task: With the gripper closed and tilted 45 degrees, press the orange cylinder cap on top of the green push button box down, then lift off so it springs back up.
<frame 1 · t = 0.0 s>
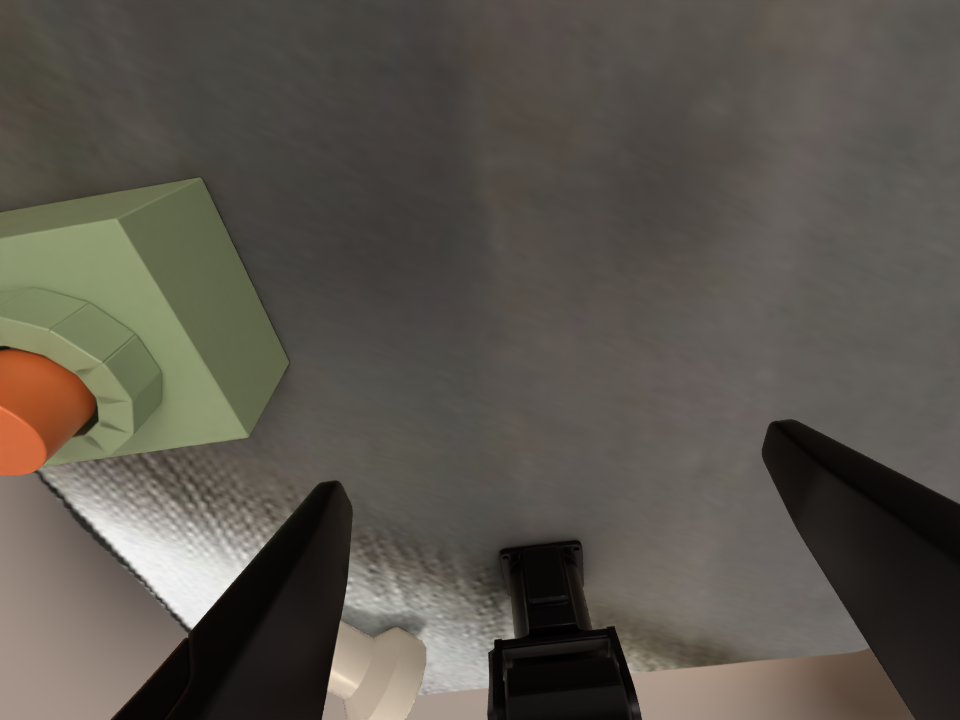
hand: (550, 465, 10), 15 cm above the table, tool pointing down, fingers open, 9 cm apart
orange cylinder cap: (12, 412, 15), point 9 cm above the table, slide at 0.1 cm
spotlight: (364, 621, 42), on the table
green push button box: (156, 296, 23), on the table
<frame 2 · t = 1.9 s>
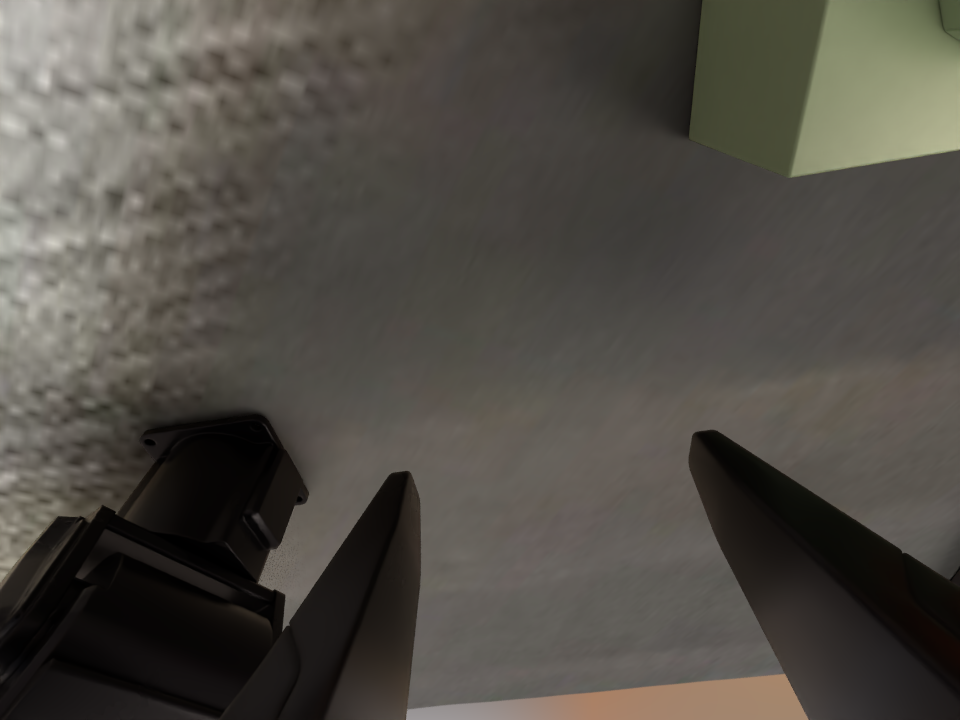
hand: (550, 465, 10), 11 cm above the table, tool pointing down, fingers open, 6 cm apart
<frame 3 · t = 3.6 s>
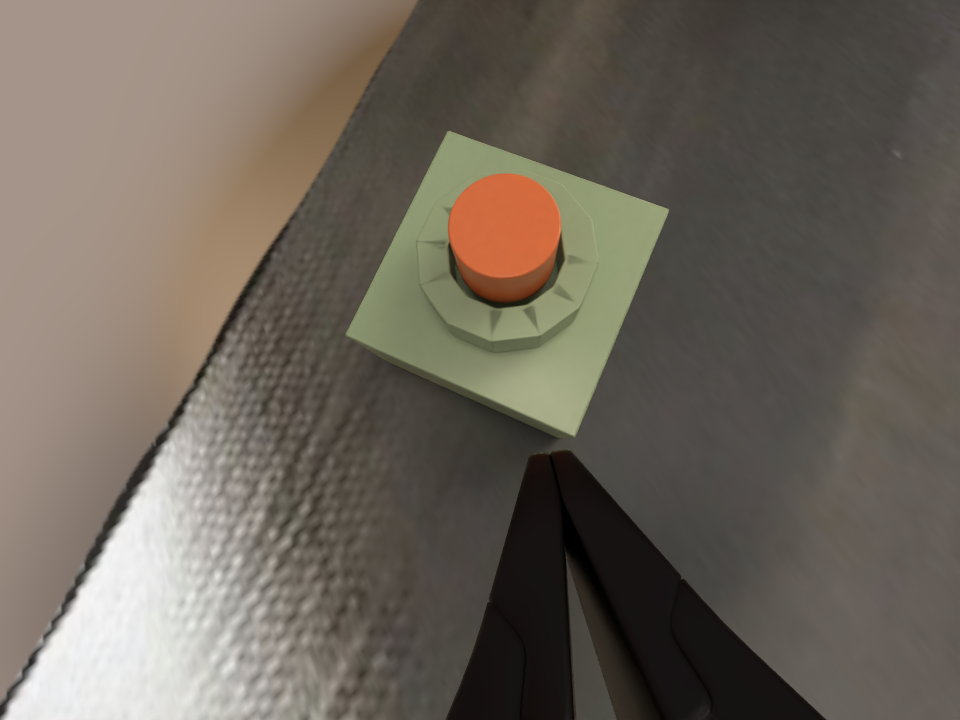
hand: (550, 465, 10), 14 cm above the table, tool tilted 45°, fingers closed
orange cylinder cap: (504, 241, 15), point 9 cm above the table, slide at 0.1 cm
green push button box: (508, 313, 24), on the table
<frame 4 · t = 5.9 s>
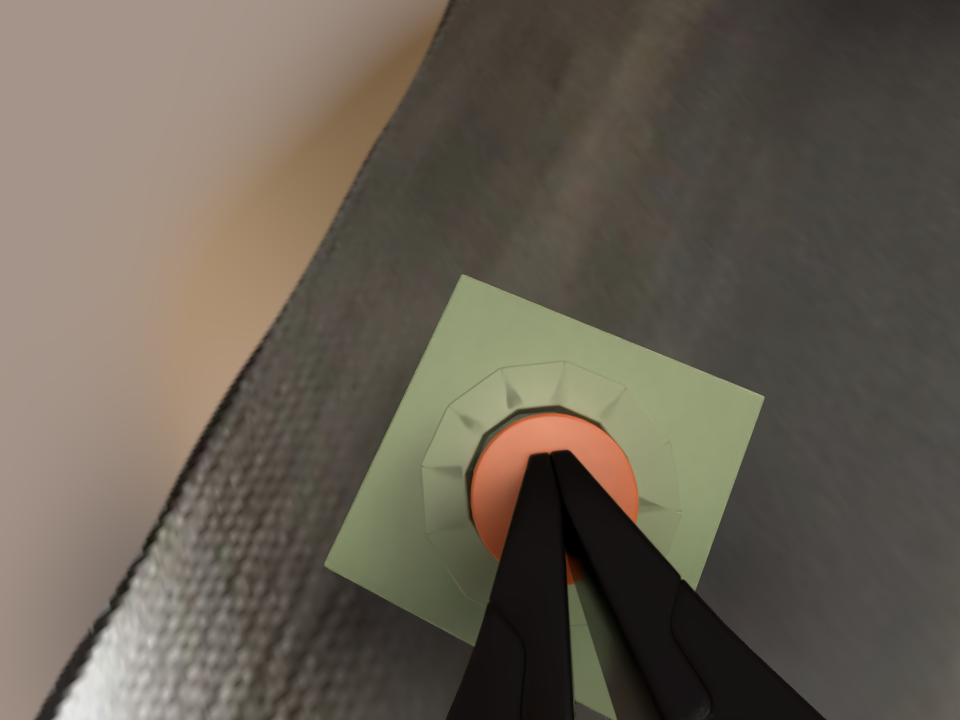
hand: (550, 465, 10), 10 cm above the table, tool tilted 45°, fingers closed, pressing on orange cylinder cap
orange cylinder cap: (549, 490, 11), point 9 cm above the table, slide at -0.2 cm, touching gripper
green push button box: (534, 469, 19), on the table
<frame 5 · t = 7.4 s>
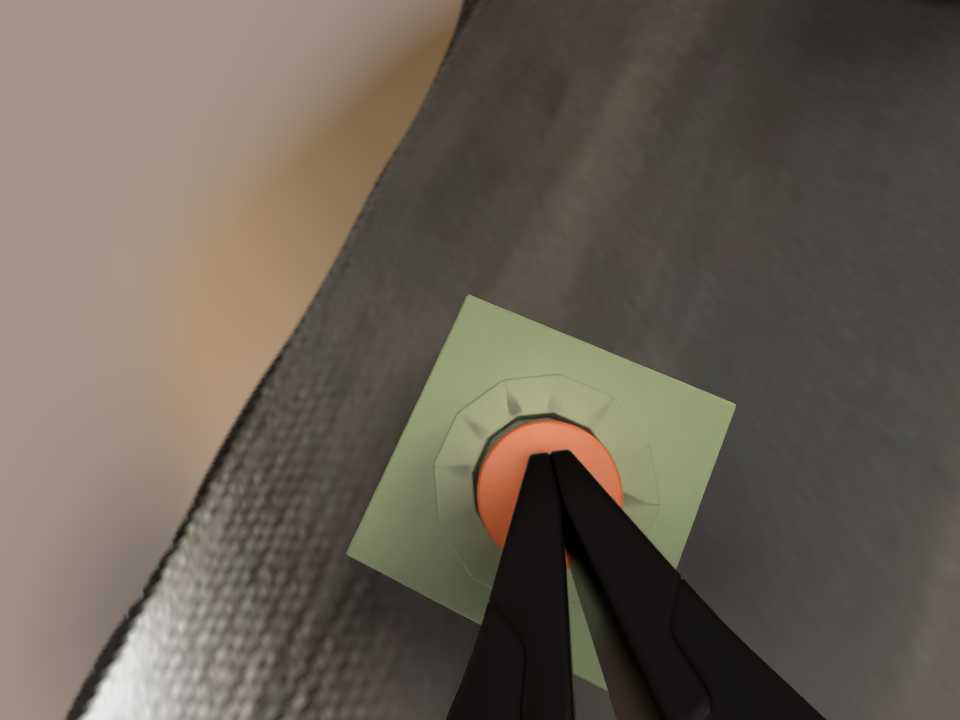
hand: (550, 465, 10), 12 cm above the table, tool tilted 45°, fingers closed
orange cylinder cap: (545, 488, 12), point 9 cm above the table, slide at 0.1 cm
green push button box: (533, 469, 21), on the table
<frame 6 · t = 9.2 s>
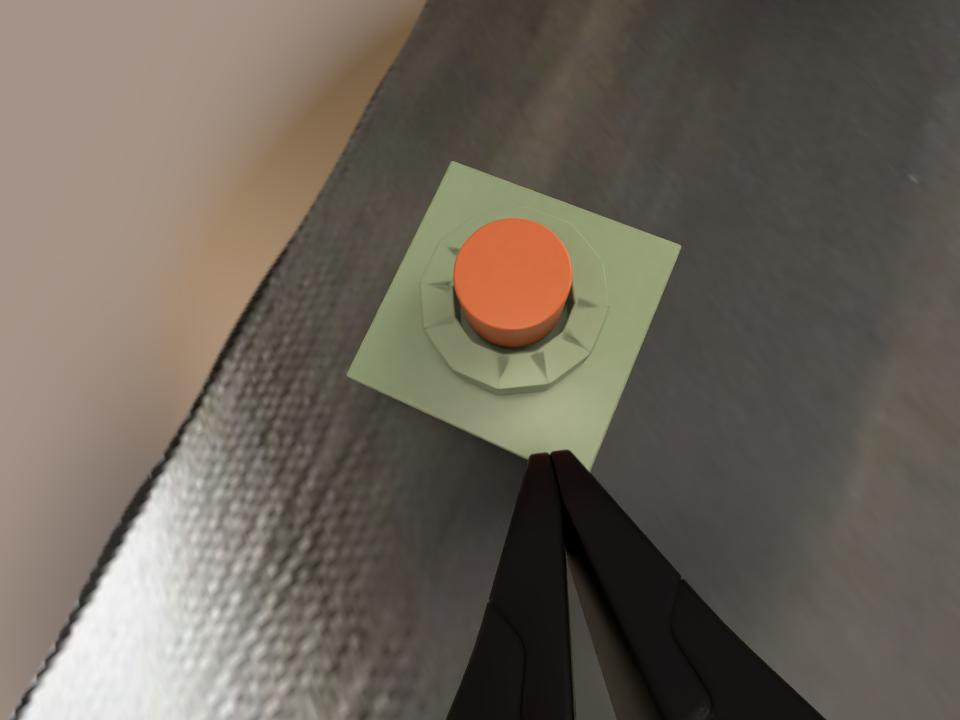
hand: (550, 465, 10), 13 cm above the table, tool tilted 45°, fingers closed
orange cylinder cap: (512, 286, 15), point 9 cm above the table, slide at 0.1 cm
green push button box: (513, 342, 24), on the table
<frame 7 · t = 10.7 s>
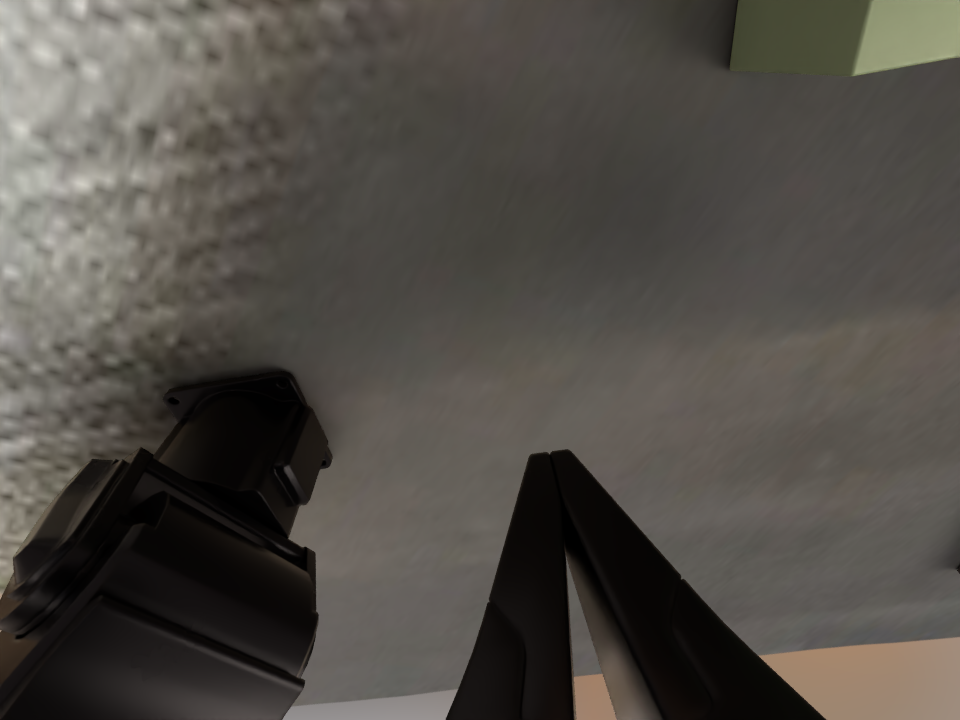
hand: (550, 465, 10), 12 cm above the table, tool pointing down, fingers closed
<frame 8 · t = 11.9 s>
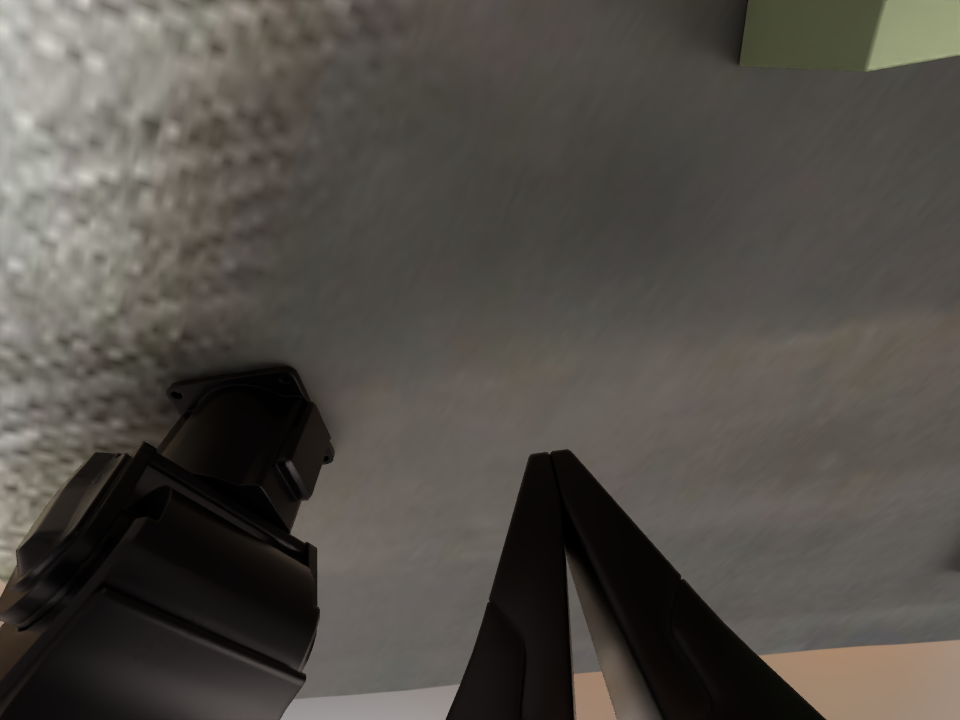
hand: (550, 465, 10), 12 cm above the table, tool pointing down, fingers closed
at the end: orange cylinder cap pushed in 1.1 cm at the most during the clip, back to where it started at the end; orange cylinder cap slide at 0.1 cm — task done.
